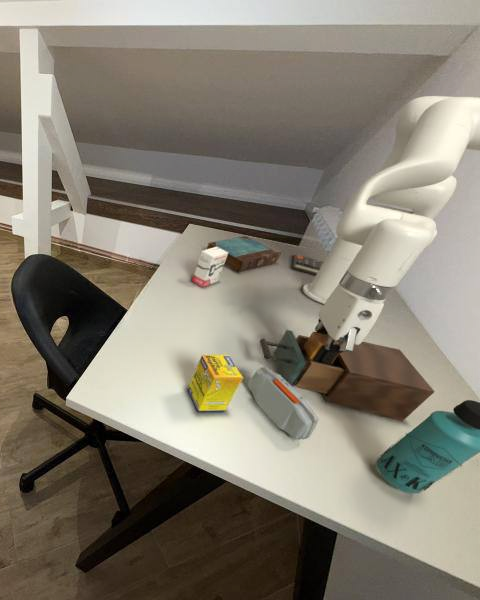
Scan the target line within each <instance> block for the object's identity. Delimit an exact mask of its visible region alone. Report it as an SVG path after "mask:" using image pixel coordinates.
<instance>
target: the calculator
mask: <svg viewBox="0 0 480 600" xmlns="http://www.w3.org/2000/svg"><path fill="white" fill-rule="evenodd" d="M323 263H324V261H322V260H318V259H314V258H311V257H308V256H303V255H299V254H294V255H293V261H292V270H296V271H300V272H304V273H307V274H310V275H313V276H316V275H317V273H318V271H319V269H320V268H321V266H322V264H323Z"/></svg>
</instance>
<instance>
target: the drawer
mask: <svg viewBox="0 0 480 600" xmlns="http://www.w3.org/2000/svg"><path fill="white" fill-rule="evenodd" d="M281 337H282V338H281V339H280V341H279V343H275V342H272V341H267V339H265V338H261V339H259V344H260V349H261V352H262V356H263V358H264V359H265V360H266V361H268V360H274V361H275V363H276V367H277V370H278V372H279V375H280V376H281V377H282V378H283V379H285V380H286V381H287V382H288V383H289V384H290V385H291V386H292V385H293V384H295V387H298V388H302V389H305V390H310V391H313V392H318V393H321V394H322V393H325V394H329V393H330V392H331V391H332V389H333V388H334V387H335V386H336V384H337V383H338V382H339V381H340V379H341V378H342V377H343V376H344V374H345V373H346V370H345V368H344V367H343V365H342V363H341V361H340V360H339V358H338V356H337V357H336V358H335V360H334V361H333V362H332V364H330V365H328V364H323V363H319V362H315V361H314V360H313V359H309V357H308V355H307V353H306V350H305V348H304V345H305V343H306V342H307V340H308V338H309V337H310V336H308V335H307V336H306V335H302V334H298V335H297V337H295V334H294V332H293V330H289V329H286V330H285V333H284V334H283V336H281ZM269 347H274V348H275V349H274V352H273V355H272V354H271V352H270V349H269Z"/></svg>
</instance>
